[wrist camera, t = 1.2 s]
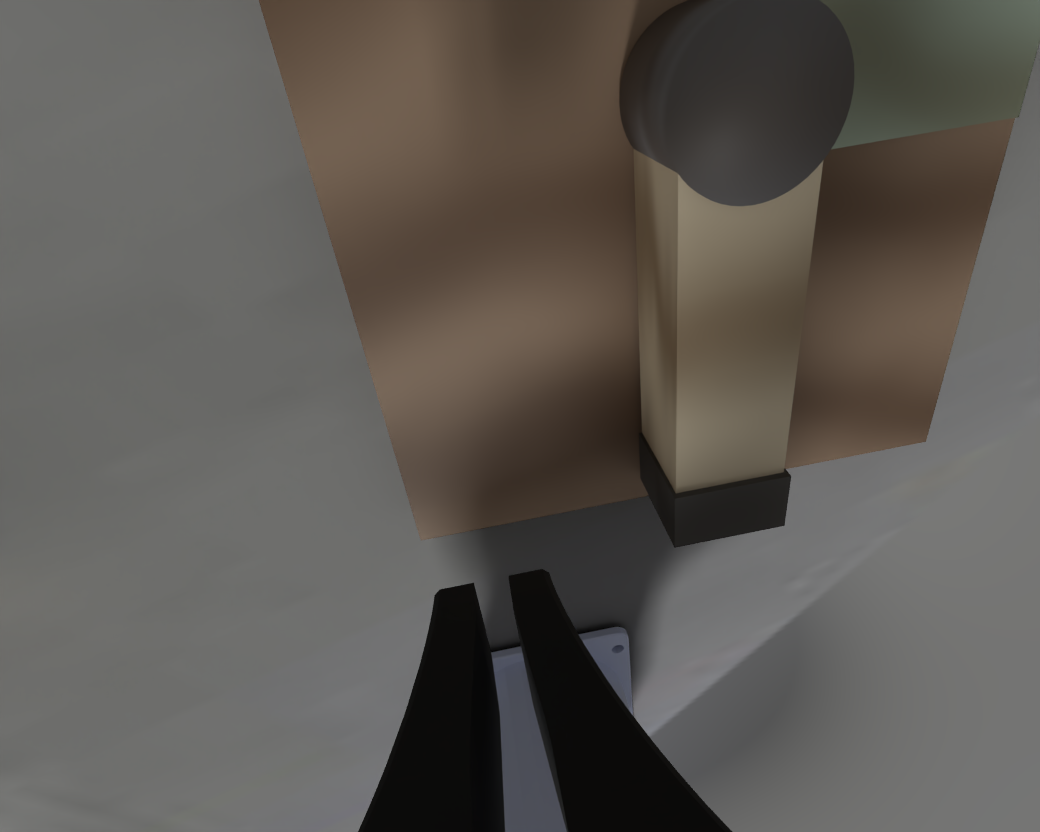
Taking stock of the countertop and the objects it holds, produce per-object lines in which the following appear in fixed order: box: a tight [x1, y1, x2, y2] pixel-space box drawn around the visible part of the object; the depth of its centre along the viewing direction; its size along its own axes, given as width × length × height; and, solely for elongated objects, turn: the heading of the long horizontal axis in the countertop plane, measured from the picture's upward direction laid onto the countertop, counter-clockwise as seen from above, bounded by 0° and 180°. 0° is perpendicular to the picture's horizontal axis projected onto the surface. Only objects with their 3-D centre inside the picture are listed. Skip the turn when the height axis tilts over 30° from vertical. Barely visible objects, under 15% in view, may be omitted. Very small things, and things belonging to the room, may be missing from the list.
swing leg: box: [619, 0, 855, 547], centre depth 15 cm, size 13×4×3 cm, turn 7°
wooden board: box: [259, 0, 1040, 540], centre depth 17 cm, size 18×18×2 cm
